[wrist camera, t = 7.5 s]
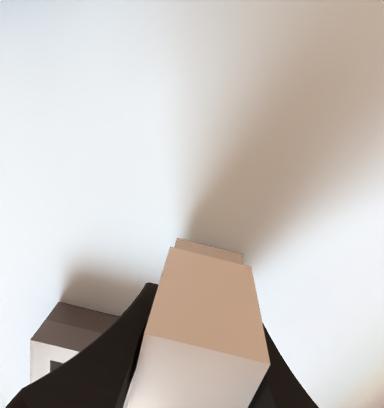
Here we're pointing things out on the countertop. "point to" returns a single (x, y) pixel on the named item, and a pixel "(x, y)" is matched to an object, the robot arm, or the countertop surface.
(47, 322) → the grey rectangular hollow block
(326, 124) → the countertop surface
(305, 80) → the countertop surface
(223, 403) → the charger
